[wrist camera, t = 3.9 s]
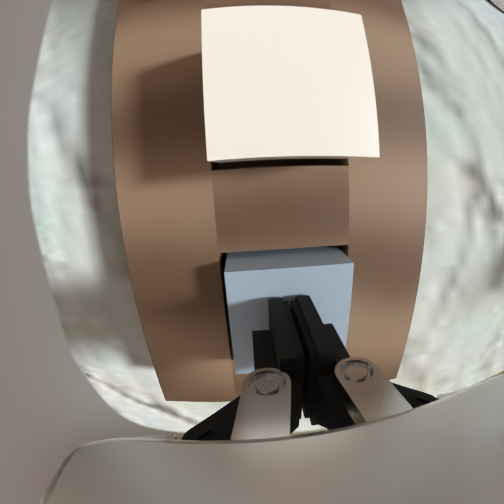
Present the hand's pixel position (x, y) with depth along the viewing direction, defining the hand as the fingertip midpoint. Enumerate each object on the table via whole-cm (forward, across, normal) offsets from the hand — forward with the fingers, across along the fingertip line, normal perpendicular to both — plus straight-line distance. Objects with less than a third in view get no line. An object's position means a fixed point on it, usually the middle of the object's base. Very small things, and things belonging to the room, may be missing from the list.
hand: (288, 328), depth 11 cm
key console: (+5, 0, -9) cm, 11 cm away
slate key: (+4, 0, 0) cm, 4 cm away
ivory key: (+2, 0, -9) cm, 9 cm away
